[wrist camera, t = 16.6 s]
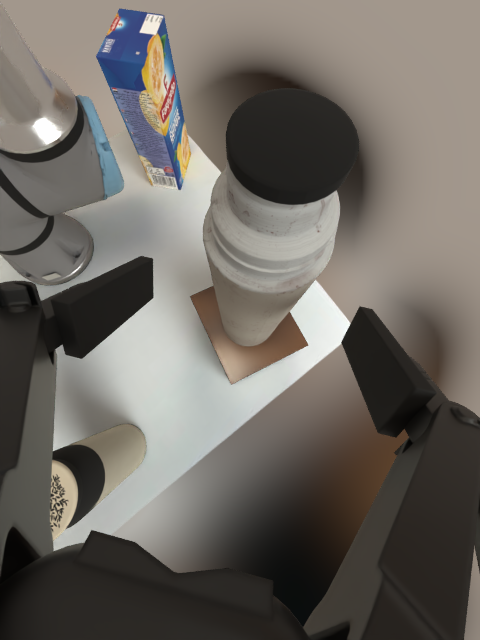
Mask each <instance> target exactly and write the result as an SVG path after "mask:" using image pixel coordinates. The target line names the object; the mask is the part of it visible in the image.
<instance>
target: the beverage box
mask: <svg viewBox="0 0 480 640" xmlns="http://www.w3.org/2000/svg"><path fill="white" fill-rule="evenodd" d="M96 57H97V59H98V62H99V64H100V66H101V69H102V71H103V73H104V75H105V78H106V80H107V83H108V85H109V87H110V90H111V92H112V94H113V96H114V99H115V101H116V103H117V106H118V108H119V111H120V113H121V115H122V117H123V120H124V122H125V124H126V127H127V129H128V132H129V134H130V136H131V139H132V141H133V143H134V145H135V148H136V150H137V152H138V155H139V157H140V159H141V162H142V164H143V166H144V169H145V171H146V173H147V176H148V178H149V180H150V183H151V185H152V186H158V187H164V188H170V189H176V190H181V187H182V183H183V180H184V176H185V173H186V169H187V166H188V162H189V159H190V155H191V152H190V147H189V142H188V137H187V132H186V126H185V121H184V116H183V111H182V106H181V101H180V96H179V91H178V85H177V80H176V75H175V70H174V65H173V60H172V54H171V49H170V45H169V39H168V34H167V29H166V24H165V18H164V15H160V14H153V13H146V12H140V11H133V10H126V9H119V11H118V13H117V15H116V17H115V19H114V21H113V23H112V25H111V27H110V29H109V31H108V33H107V35H106V37H105V40H104V41H103V43H102V45H101V48H100V50H99V52H98V54H97V56H96Z"/></svg>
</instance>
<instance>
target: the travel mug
mask: <svg viewBox="0 0 480 640" xmlns="http://www.w3.org/2000/svg"><path fill="white" fill-rule="evenodd" d="M145 453H146V440H145V437H144V435H143V433H142V432H141V431H140V430H139V429H138V428H137V427H135V426H133V425H130V424H122V425H118V426H115V427H113V428H110V429H108V430H105V431H103V432H100V433H98V434H95V435H93V436H90V437H88V438H85V439H83V440H80V441H78V442H75V443H73V444H70V445H68V446H65V447H63V448H60V449H58V450H55V451H53V454H52V475H51V496H50V525H51V531H52V536H53V541H54V540H55V539H56V538H57V537H58V536H60V534H61V533H62V532H63V531H64V530H65V529H67V528H69V527H71V526H73V525H74V524H76V523H77V522H78V521H80V520H81V519H82V518H83V517H84V516H85V515H86V514H87V513H89V512H90V511H91V510H92V509H93V508H94V507H95V506H96V505H97V504H98V503H99V502H101V501H102V500H103V499H104V498H105V497H106V496H107V495H108V494H109V493H110V492H111V491H113V490H114V489H115V488H116V487H117V486H118V485H119V484H120V483H121V482H122V481H124V480H125V479H126V478H127V477H128V476H129V475H130V474H131V473H132V472H133V471H134V470H136V469H137V468H138V467H139V465H140V464H141V463H142V461H143V459H144V456H145Z"/></svg>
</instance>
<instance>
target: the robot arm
mask: <svg viewBox="0 0 480 640" xmlns="http://www.w3.org/2000/svg"><path fill="white" fill-rule="evenodd" d="M123 188H124V180H123V177H122V174H121V172H120V169H119V167H118V164H117V162H116V159H115V157H114V154H113V152H112V149H111V147H110V145H109V142H108V139H107V137H106V134H105V132H104V129H103V127H102V124H101V122H100V119H99V117H98V114H97V112H96V110H95V107H94V105H93V103H92V101H91V99H90V98H89V97H86V96H80V95H78V96H76V97H75V95H74V93H73V91H72V90H71V88H70V87H69V86H68V84H67V83H66V82H65V80H63V79H62V78H61V77H60V76H59V75H57V74H56V73H54V72H52V71H50V70H48V69H46V68H43V67H42V66H41V65H40V63H39V62H38V60H37V58H36V57H35V55H34V54H33V52H32V51H31V49H30V47H29V46H28V44H27V43H26V41H25V40H24V38H23V37H22V35H21V33H20V32H19V30H18V29H17V27H16V26H15V24H14V22H13V21H12V19H11V18H10V16H9V15H8V13H7V11H6V10H5V8H4V7H3V5H2V4H1V2H0V255H1V256H2V257H3V258H4V259H5V260H6V261H7V262H8V263H9V264H10V265H11V266H12V267H13V268H14V269H15V270H16V271H17V272H18V273H19V274H21V275H22V276H23V277H25V278H27V279H29V280H31V281H33V282H35V283H38V284H42V285H57V284H62V283H65V282H67V281H70V280H71V279H73V278H75V277H76V276H78V275H79V274H80V273H81V272H82V271H83V270H84V269H85V268H86V267H87V265H88V264H89V262H90V260H91V258H92V255H93V248H94V246H93V240H92V237H91V235H90V233H89V232H88V231H87V230H86V229H85V228H84V227H83V226H82V225H81V224H80V223H79V222H78V221H76V220H75V219H73V218H71V217H69V216H67V215H65V214H63V213H62V212H66V211H69V210H72V209H75V208H78V207H82V206H85V205H88V204H91V203H95V202H98V201H101V200H106V199H107V198H108V197H110V196H112V195H115V194H117V193H119V192H121V191H122V190H123ZM152 298H153V259H152V258H148V257H144V256H140V257H138V258H136V259H134V260H132V261H130V262H127V263H125V264H123V265H121V266H119V267H117V268H115V269H113V270H111V271H109V272H107V273H104V274H102V275H100V276H98V277H96V278H94V279H92V280H90V281H88V282H84V283H80V284H77V285H75V286H72V287H70V288H69V289H66V290H64V291H62V293H61V292H60V293H57V294H55V295H53V296H51V297H49V298H47V299H45V300H42V301H40V297H39V294H38V291H37V287H36V285H35V284H33V283H31V282H26V281H10V282H3V283H0V640H464V633H465V624H466V615H467V606H468V597H469V588H470V579H471V570H472V561H473V552H474V545H475V551H476V556H477V560H478V566H479V571H480V418H479V417H478V416H477V415H476V414H475V413H473V412H472V411H470V410H469V409H467V408H466V407H464V406H462V405H460V404H458V403H455V402H452V401H449V400H448V399H447V398H446V396H445V395H444V394H443V393H442V391H441V390H440V389H439V388H438V387H437V385H436V384H435V383H434V382H433V381H431V378H430V377H429V375H428V374H426V372H425V370H424V369H423V368H422V367H421V365H420V364H419V363H417V362H416V361H415V360H414V359H412V358H411V357H409V356H408V355H407V354H406V352H405V351H404V350H403V348H402V347H401V346H400V344H399V343H398V342H397V341H396V339H395V338H394V337H393V335H392V334H391V333H390V332H389V330H388V329H387V328H386V326H385V325H384V324H383V322H382V321H381V320H380V319H379V317H378V316H377V315H376V314H375V312H374V311H373V310H372V309H369V308H365V307H359V309H358V311H357V313H356V315H355V317H354V319H353V321H352V322H351V324H350V326H349V328H348V330H347V332H346V334H345V336H344V338H343V340H342V342H341V343H342V345H343V348H344V350H345V353H346V355H347V357H348V360H349V363H350V365H351V367H352V370H353V372H354V375H355V377H356V380H357V382H358V385H359V387H360V390H361V392H362V395H363V397H364V400H365V402H366V405H367V407H368V410H369V412H370V415H371V417H372V420H373V422H374V424H375V427H376V429H377V432H378V433H380V434H384V435H388V436H392V437H397V436H398V435H399V434H400V433H401V432H402V430H403V429H404V428H405V430H406V432H407V434H408V436H409V438H408V439H407V440H406V441H405V442H404V443H403V444H402V445H401V446H400V448H398V449H397V450H396V451H395V454H396V455H397V457H396V459H395V461H394V463H393V465H392V467H391V469H390V471H389V473H388V475H387V477H386V479H385V481H384V482H383V484H382V486H381V488H380V490H379V492H378V494H377V496H376V498H375V500H374V502H373V504H372V506H371V508H370V510H369V512H368V514H367V516H366V518H365V520H364V521H363V523H362V525H361V527H360V529H359V531H358V533H357V535H356V537H355V539H354V541H353V543H352V545H351V547H350V549H349V551H348V553H347V555H346V557H345V559H344V561H343V562H342V564H341V566H340V568H339V570H338V572H337V574H336V576H335V578H334V580H333V582H332V584H331V586H330V588H329V590H328V591H327V593H326V595H325V596H324V598H323V599H322V601H321V602H320V603H319V604H318V606H317V607H316V608H315V609H314V611H313V612H312V614H311V615H310V617H309V618H308V620H307V622H306V624H305V625H304V627H302V626H301V624H300V623H299V622H298V620H297V619H296V618H295V617H294V615H293V614H292V613H291V612H290V611H289V609H288V608H287V607H286V606H284V604H283V603H281V602H280V601H279V600H278V599H277V598H276V597H274V596H273V581H272V580H268V579H264V578H261V577H257V576H254V575H250V574H247V573H243V572H240V571H236V570H233V569H229V568H224V569H215V570H206V571H196V572H187V573H176V572H173V571H172V570H170V569H169V568H168V567H166V566H165V565H164V564H163V563H161V562H160V561H159V560H157V559H156V558H155V557H154V556H152V555H151V554H150V553H148V552H147V551H146V550H144V549H143V548H142V547H141V546H139V545H138V544H137V543H135V542H132V541H129V540H125V539H122V538H118V537H115V536H111V535H107V534H104V533H100V532H97V531H93V530H91V532H90V534H89V536H88V538H87V539H86V541H85V543H79V544H75V545H71V546H67V547H64V548H61V549H59V550H56V551H53V536H52V531H51V525H50V496H51V475H52V454H53V433H54V411H55V390H56V369H57V354H56V350H55V349H56V348H58V347H59V346H60V345H62V344H63V347H64V351H65V354H66V355H69V356H73V357H77V358H81V359H82V358H83V357H85V356H86V355H87V354H88V353H89V352H90V351H92V350H93V349H94V348H95V347H96V346H97V345H99V344H100V343H101V342H102V341H103V340H104V339H106V338H107V337H108V336H109V335H110V334H112V333H113V332H114V331H115V330H116V329H117V328H119V327H120V326H121V325H122V324H123V323H124V322H126V321H127V320H128V319H129V318H130V317H131V316H133V315H134V314H135V313H136V312H137V311H138V310H140V309H141V308H142V307H143V306H144V305H145V304H147V303H148V302H149V301H150V300H151V299H152Z"/></svg>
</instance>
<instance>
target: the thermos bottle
mask: <svg viewBox="0 0 480 640" xmlns="http://www.w3.org/2000/svg"><path fill="white" fill-rule="evenodd" d="M226 149H227V160H228V161H227V167H226V169H225V170H224V171H223V172H222V173H221V175H220V176H219V177H218V179H217V181H216V183H215V185H214V187H213V191H212V196H211V204H210V207H209V209H208V211H207V214H206V216H205V220H204V225H203V241H204V246H205V250H206V254H207V258H208V262H209V266H210V270H211V275H212V280H213V285H214V289H215V293H216V298H217V302H218V306H219V311H220V315H221V319H222V324H223V328H224V330H225V333H226V334H227V336H228V337H229V338H230V339H231V340H232V341H233V342H235V343H237V344H239V345H242V346H255V345H258V344H261V343H263V342H264V341H265V340H266V339H267V338H268V337H269V336H270V335H271V334H272V332H273V331H274V330H275V329H276V327H277V326H278V324H279V323H280V322H281V321H282V320H283V319H284V318H285V316H286V315H287V314H288V313H289V311H290V310H291V309H292V308H293V307H294V305H295V304H296V303H297V302H298V300H299V299H300V298H301V297H302V295H303V294H304V293H305V292H306V291H307V289H308V288H309V287H310V286H311V284H312V283H313V282H314V281H315V279H316V278H317V277H318V276H319V275H320V273H321V272H322V271H323V269H324V268H325V267H326V265H327V263H328V261H329V260H330V258H331V255H332V251H333V248H334V240H335V234H336V231H337V226H338V220H339V216H340V203H339V198H338V193H337V191H336V190H337V189H338V188H339V187H340V186H341V185H342V184H343V182H344V181H345V179H346V177H347V176H348V174H349V172H350V170H351V169H352V167H353V165H354V163H355V161H356V158H357V154H358V151H359V139H358V135H357V130H356V128H355V126H354V124H353V122H352V120H351V119H350V118H349V116H348V115H347V114H346V113H345V111H343V110H342V109H341V108H340V107H339V106H338V105H337V104H335V103H334V102H332V101H330V100H329V99H327V98H326V97H323V96H321V95H319V94H316V93H313V92H309V91H306V90H300V89H292V88H290V89H275V90H269V91H265V92H263V93H259V94H257V95H255V96H253V97H251V98H249V99H247V100H246V101H245V102H244V103H242V104H241V105H240V106H239V107H238V108H237V109H236V111H235V112H234V113H233V114H232V116H231V118H230V120H229V122H228V126H227V131H226Z"/></svg>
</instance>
